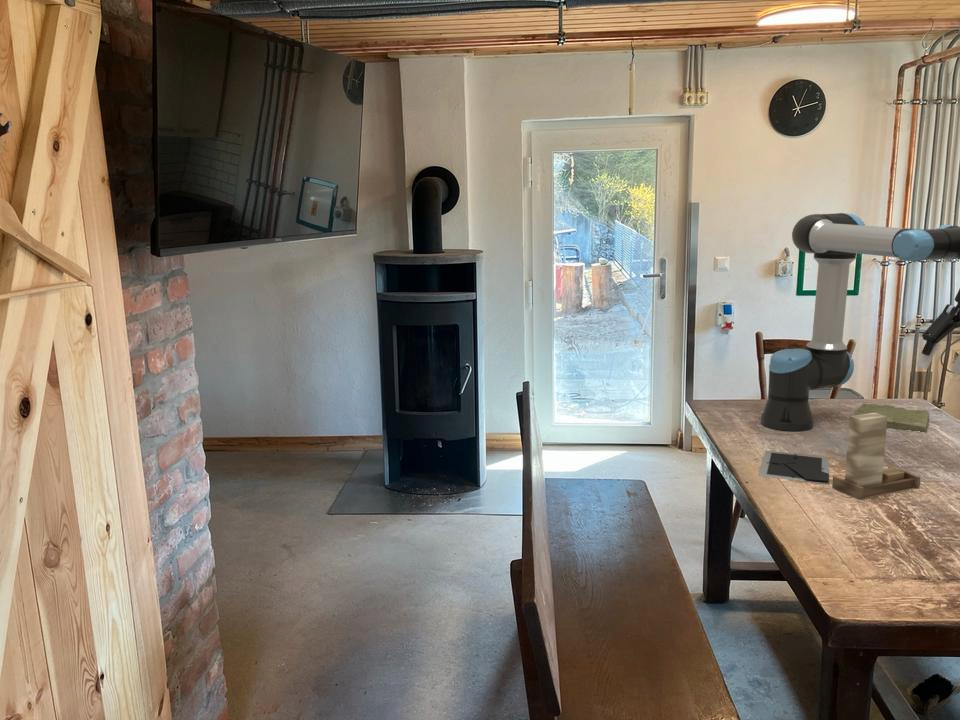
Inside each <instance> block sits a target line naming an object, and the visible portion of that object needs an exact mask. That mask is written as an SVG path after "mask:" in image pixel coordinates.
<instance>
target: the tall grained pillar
mask: <svg viewBox="0 0 960 720" xmlns="http://www.w3.org/2000/svg"><path fill="white" fill-rule="evenodd" d="M887 417H888V416H885V415H881V414H878V413H869V414H862V415H855V416H854V415H850V416H849V418H848V419H849V421H848V432H847V433H848V435H847V444H846V446H847V447H846V449H847V450H846V460H845V473H844V479H845V480H846V481H849V482H851V483H854V484H856V485H859V486H861V487H867V486H872V485H877V484H882V475H883V469H884V461H885V450H886V440H887V439H886V438H887V429H888V428H887Z"/></svg>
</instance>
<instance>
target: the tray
mask: <svg viewBox="0 0 960 720" xmlns="http://www.w3.org/2000/svg"><path fill="white" fill-rule="evenodd" d="M888 468H893V469H896V470H899V471H902V472H904V480H898V481H893V482H888V483H885V482H884V481H882V484H877V485H872V486H867V487H861V486H859V485H856V484H854V483H851V482H849V481H846V480H845V478H841V477H839V476H837V475H834V476H832V487H831V488H832V489H834V490H835V491H838V492H840V493H842V494H846V495H848V496H850V497H852V498H855V499H856V500H859V501H862V500H868V499H872V498H876V497H877V498H878V497H881V496H882V497H883V496H888V495H893V494H897V493H903V492H907V491H913V490H916V489H920V488H921V487H920V485H921V476H920V475H916V474H914V473H911V472H909V471H907V470H906V471H905V470H903V469H900V468H897V467H894V466H891V465H889V466H888Z"/></svg>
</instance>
